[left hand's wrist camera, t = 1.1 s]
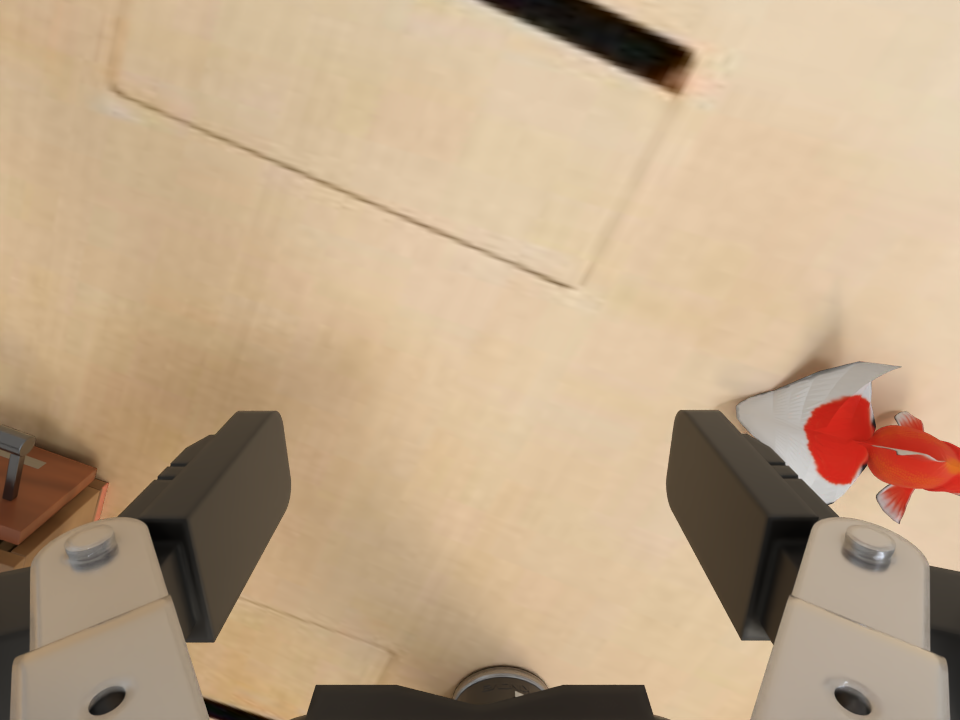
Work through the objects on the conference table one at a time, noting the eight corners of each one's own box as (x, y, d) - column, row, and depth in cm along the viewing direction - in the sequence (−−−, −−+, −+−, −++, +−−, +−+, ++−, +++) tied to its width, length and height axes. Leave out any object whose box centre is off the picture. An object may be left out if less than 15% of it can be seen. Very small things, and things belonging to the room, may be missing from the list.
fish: (887, 571, 41) (978, 608, 31) (694, 450, 45) (722, 449, 35) (964, 449, 41) (1078, 448, 31) (766, 340, 45) (813, 309, 35)
